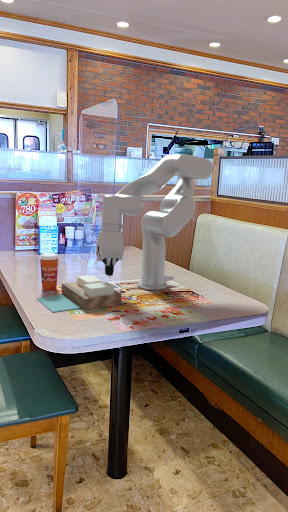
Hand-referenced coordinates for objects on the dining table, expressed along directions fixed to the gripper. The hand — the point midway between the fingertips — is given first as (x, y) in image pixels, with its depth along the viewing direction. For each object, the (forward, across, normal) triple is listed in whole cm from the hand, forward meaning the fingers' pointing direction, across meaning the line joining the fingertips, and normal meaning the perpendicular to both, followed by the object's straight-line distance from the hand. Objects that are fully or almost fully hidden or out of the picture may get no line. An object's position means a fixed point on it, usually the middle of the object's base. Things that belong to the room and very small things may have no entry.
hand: (109, 275), depth 156 cm
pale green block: (+4, +9, +10) cm, 14 cm away
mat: (+8, +21, +3) cm, 23 cm away
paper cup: (+8, +18, -16) cm, 25 cm away
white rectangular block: (+4, +8, 0) cm, 9 cm away
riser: (+8, +9, +3) cm, 12 cm away
